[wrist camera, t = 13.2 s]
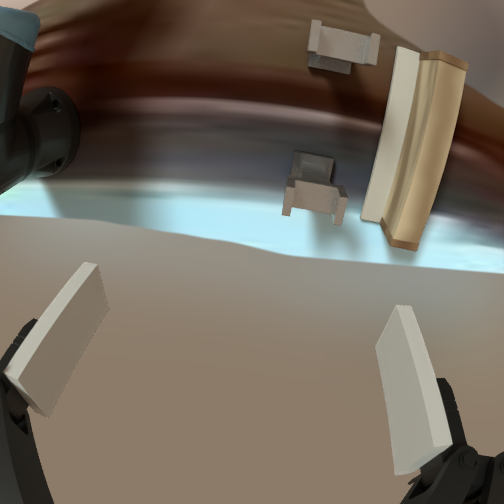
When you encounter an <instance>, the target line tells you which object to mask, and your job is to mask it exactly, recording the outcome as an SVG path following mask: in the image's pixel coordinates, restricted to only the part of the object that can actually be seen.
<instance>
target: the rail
mask: <svg viewBox="0 0 504 504" xmlns="http://www.w3.org/2000/svg"><path fill="white" fill-rule="evenodd" d="M419 60H420V61H419V67H418V73H417V79H416V85H415V90H414V96H413V101H412V106H411V111H410V115H409V120H408V124H407V129H406V133H405V137H404V142H403V146H402V150H401V154H400V158H399V162H398V165H397V169H396V173H395V176H394V180H393V184H392V187H391V191H390V194H389V197H388V201H387V204H386V207H385V211H384V214H383V217H382V218H381V221H380V225H381V227H382V229H383V231H384V234H385V236H386V238H387V240H388V242H389V245H390V246H392V247H397V248H402V249H407V250H412V251H417V248H418V246H419V244H418V243H419V240H420V237H421V235H422V232H423V230H424V227H425V224H426V222H427V219H428V216H429V213H430V210H431V208H432V205H433V202H434V199H435V196H436V193H437V190H438V187H439V183H440V180H441V177H442V174H443V170H444V167H445V164H446V160H447V156H448V153H449V149H450V145H451V142H452V138H453V134H454V129H455V125H456V121H457V117H458V112H459V107H460V102H461V97H462V92H463V86H464V81H465V75H466V71H468V63H467V62H465V61H463V60H460V59H458V58H456V57H454V56H451V55H449V54H447V53H445V52H442V51H431V52H423V53H420V55H419Z"/></svg>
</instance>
